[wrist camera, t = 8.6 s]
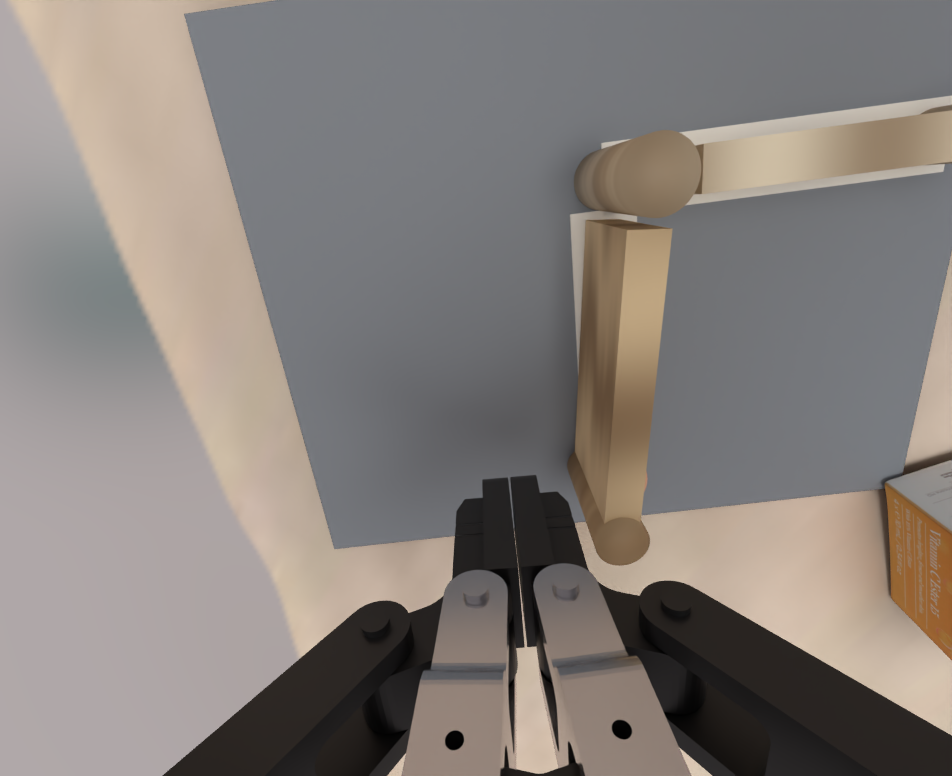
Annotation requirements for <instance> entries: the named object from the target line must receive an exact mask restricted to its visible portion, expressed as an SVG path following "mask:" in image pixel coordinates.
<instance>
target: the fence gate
mask: <svg viewBox="0 0 952 776" xmlns="http://www.w3.org/2000/svg"><path fill="white" fill-rule="evenodd" d="M671 238H672V228H666V227H660V226H655V225H649V224H644V223H638V222H633V221H627V220H622V219H607V220H586V227H585V248H584V269H583V290H582V311H581V332H580V353H579V374H578V395H577V416H576V437H575V451H574V452H573V453H572V454H571V456H570V457H569V459H568V463H567V469H568V472H569V475H570V478H571V481H572V483H573V486H574V489H575V492H576V495H577V498H578V500H579V503H580V506H581V509H582V512H583V514H584V517H585V520H586V523H587V526H588V529H589V531H590V534H591V537H592V540H593V543H594V546H595V548H596V551H597V554H598V555H599V557H600V558H601V559H602V560H603V561H605V562H607V563H609V564H612V565H627V564H631V563H633V562H635V561H637V560H639V559H640V558H641V557H642V556H643V555H644V554H645V553H646V552H647V550H648V547H649V544H650V538H649V534H648V532H647V530H646V528H645V526H644V525H643V523H642V521H641V514H642V505H643V496H644V487H645V478H646V468H647V459H648V450H649V441H650V432H651V422H652V413H653V404H654V395H655V386H656V376H657V367H658V358H659V349H660V340H661V330H662V321H663V312H664V303H665V294H666V284H667V275H668V266H669V257H670V248H671Z"/></svg>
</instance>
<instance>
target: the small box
mask: <svg viewBox="0 0 952 776" xmlns="http://www.w3.org/2000/svg"><path fill="white" fill-rule="evenodd" d="M885 491H886V497H887V507H888V522H889V541H890V569H891V598H892V600H893V601H894V602H895V603H896V604H897V605H898V606H899V607H900V608H901V609H902V610H903V611H904V612H905V613H906V614H907V615H908V616H909V617H910V618H911V619H912V620H913V621H914V622H915V623H916V624H917V625H918V626H919V627H920V628H921V630H922V631H923V632H924V633H925V634H926V635H927V636H928V637H929V638H930V639H931V640H932V641H933V642H934V643H935V644H936V645H937V646H938V647H939V648H940V649H941V650H942V651H943V652H944V653H945V654H946V655H947V656H948V657H949V658H950V659H951V660H952V460H949V461H946V462H943V463H940V464H937V465H934V466H930V467H927V468H924V469H921V470H919V471H916V472H912V473H909V474H906V475H903V476H900V477H897V478H894V479H891V480H888V481H887V482H885Z"/></svg>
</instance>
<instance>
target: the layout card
mask: <svg viewBox="0 0 952 776" xmlns="http://www.w3.org/2000/svg"><path fill="white" fill-rule="evenodd" d="M184 16H185V19H186V23H187V26H188V30H189V33H190V37H191V40H192V44H193V48H194V51H195V55H196V58H197V62H198V65H199V69H200V72H201V76H202V80H203V83H204V87H205V90H206V94H207V97H208V101H209V104H210V108H211V112H212V115H213V119H214V122H215V126H216V129H217V133H218V136H219V140H220V144H221V147H222V151H223V154H224V158H225V161H226V165H227V168H228V172H229V176H230V179H231V183H232V186H233V190H234V193H235V197H236V200H237V204H238V208H239V211H240V215H241V218H242V222H243V225H244V229H245V232H246V236H247V240H248V243H249V247H250V250H251V254H252V257H253V261H254V264H255V268H256V272H257V275H258V279H259V282H260V286H261V289H262V293H263V296H264V300H265V304H266V307H267V311H268V314H269V318H270V321H271V325H272V328H273V332H274V336H275V339H276V343H277V346H278V350H279V353H280V357H281V360H282V364H283V368H284V371H285V375H286V378H287V382H288V385H289V389H290V392H291V396H292V400H293V403H294V407H295V410H296V414H297V417H298V421H299V425H300V428H301V432H302V435H303V439H304V442H305V446H306V449H307V453H308V457H309V460H310V464H311V467H312V471H313V474H314V478H315V481H316V485H317V489H318V492H319V496H320V499H321V503H322V506H323V510H324V513H325V517H326V521H327V524H328V528H329V531H330V535H331V538H332V542H333V545H334V549H340V548H349V547H358V546H367V545H376V544H385V543H394V542H403V541H412V540H422V539H431V538H440V537H449V536H455V527H456V511H457V510H458V508H459V507H460V505H461V504H462V502H463V501H464V499H472V498H483V493H482V479H493V478H505V477H508V482H509V491H510V500H511V509H512V518H513V506H512V494H511V482H510V477H516V476H528V475H536V476H537V481H538V486H539V490H540V493H544V492H556V491H557V492H558V493H559V494H560V495H562V496H563V497H564V498H565V499H566V500H567V501H568V503H569V506H570V510H571V513H572V518H573V520H574V523H576V522H585V521H586V520H585V517H584V514H583V512H582V509H581V506H580V503H579V500H578V498H577V495H576V492H575V489H574V486H573V483H572V481H571V478H570V475H569V472H568V469H567V463H568V459H569V457H570V456H571V454H572V453H573V452H574V451H575V437H576V416H577V395H578V374H579V353H580V332H581V311H582V290H583V269H584V248H585V227H586V220H607V219H622V220H627V221H633V222H638V223H644V224H649V225H655V226H660V227H666V228H672V238H671V248H670V257H669V266H668V275H667V284H666V294H665V303H664V312H663V321H662V330H661V340H660V349H659V358H658V367H657V376H656V386H655V395H654V404H653V413H652V422H651V432H650V441H649V450H648V459H647V468H646V478H645V487H644V496H643V505H642V514H641V515H649V514H658V513H667V512H676V511H685V510H694V509H703V508H712V507H721V506H731V505H740V504H749V503H758V502H767V501H776V500H785V499H794V498H803V497H812V496H821V495H830V494H840V493H849V492H858V491H867V490H876V489H885V482H887V481H888V480H891V479H894V478H897V477H900V476H902V474H903V469H904V465H905V460H906V456H907V451H908V447H909V442H910V437H911V433H912V428H913V424H914V419H915V415H916V410H917V406H918V401H919V397H920V392H921V387H922V383H923V378H924V374H925V369H926V365H927V360H928V356H929V351H930V347H931V342H932V337H933V333H934V328H935V324H936V319H937V315H938V310H939V306H940V301H941V296H942V292H943V287H944V283H945V278H946V274H947V269H948V265H949V260H950V256H951V251H952V164H937V165H921V166H914V167H906V168H898V169H891V170H883V171H876V172H868V173H860V174H853V175H845V176H837V177H830V178H822V179H814V180H807V181H799V182H792V183H784V184H776V185H769V186H761V187H753V188H746V189H738V190H730V191H723V192H715V193H708V194H694V195H693V196H692V198H691V199H690V200H689V202H688V203H687V204H686V205H685V206H684V207H683V208H681V209H680V210H679V211H677V212H676V213H674V214H672V215H669V216H666V217H662V218H648V217H641V216H634V215H627V214H620V213H613V212H606V211H599V210H593V209H590V208H588V207H586V206H585V205H584V204H582V203H581V202H580V200H579V199H578V197H577V195H576V192H575V189H574V176H575V172H576V170H577V168H578V166H579V164H580V163H581V161H582V160H583V159H584V158H585V157H586V156H587V155H589V154H590V153H592V152H594V151H597V150H600V149H603V148H606V147H609V146H612V145H615V144H618V143H621V142H624V141H628V140H631V139H634V138H637V137H640V136H643V135H646V134H649V133H652V132H655V131H660V130H672V131H676V132H679V133H681V134H683V135H685V136H686V137H688V138H689V139H690V140H691V141H692V142H693V144H694V145H700V144H705V143H712V142H720V141H727V140H735V139H742V138H750V137H757V136H764V135H772V134H779V133H787V132H794V131H802V130H809V129H817V128H824V127H831V126H839V125H846V124H854V123H861V122H869V121H876V120H884V119H891V118H898V117H906V116H913V115H920V114H921V113H923V112H924V111H926V110H929V109H931V108H936V107H941V106H947V105H952V0H275V1H269V2H262V3H255V4H248V5H242V6H235V7H228V8H221V9H215V10H208V11H201V12H194V13H188V14H184ZM513 527H514V518H513Z"/></svg>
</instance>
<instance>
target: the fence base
mask: <svg viewBox="0 0 952 776" xmlns="http://www.w3.org/2000/svg"><path fill="white" fill-rule="evenodd" d="M937 164H952V105H947V106H941V107H936V108H931V109H929V110H926V111H924V112H923V113H921V114H920V115H913V116H906V117H898V118H891V119H884V120H876V121H869V122H861V123H854V124H846V125H839V126H831V127H824V128H817V129H809V130H802V131H794V132H787V133H779V134H772V135H764V136H757V137H750V138H742V139H735V140H727V141H720V142H712V143H705V144H700V145H694V144H693V142H692V141H691V140H690V139H689V138H688V137H686V136H685V135H683V134H681V133H679V132H676V131H672V130H660V131H655V132H652V133H649V134H646V135H643V136H640V137H637V138H634V139H631V140H628V141H624V142H621V143H618V144H615V145H612V146H609V147H606V148H603V149H600V150H597V151H594V152H592V153H590V154H589V155H587V156H586V157H585V158H584V159H583V160H582V161H581V163H580V164H579V166H578V168H577V170H576V172H575V176H574V189H575V192H576V195H577V197H578V199H579V200H580V202H581V203H582V204H584V205H585V206H586V207H588V208H590V209H593V210H599V211H606V212H613V213H620V214H627V215H634V216H641V217H648V218H662V217H666V216H669V215H672V214H674V213H676V212H677V211H679V210H680V209H681V208H683V207H684V206H685V205H686V204H687V203H688V202H689V200H690V199H691V198H692V196H693V195H694V194H708V193H715V192H723V191H730V190H738V189H746V188H753V187H761V186H769V185H776V184H784V183H792V182H799V181H807V180H814V179H822V178H830V177H837V176H845V175H853V174H860V173H868V172H876V171H883V170H891V169H898V168H906V167H914V166H921V165H937Z"/></svg>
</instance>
